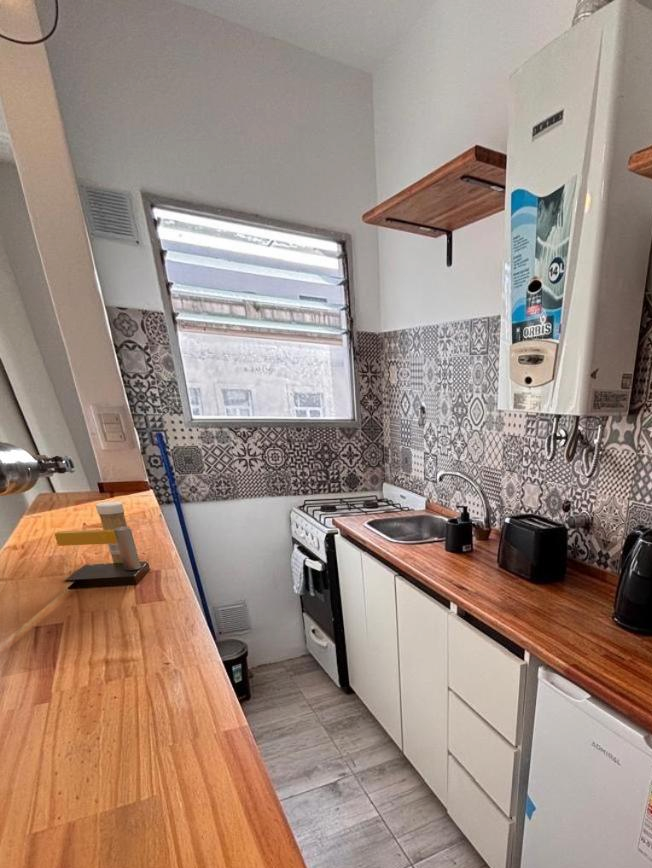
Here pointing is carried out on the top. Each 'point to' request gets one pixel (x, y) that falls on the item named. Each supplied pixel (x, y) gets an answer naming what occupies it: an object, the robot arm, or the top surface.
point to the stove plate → (106, 575)
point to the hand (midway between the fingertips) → (30, 467)
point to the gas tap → (105, 542)
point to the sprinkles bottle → (112, 523)
